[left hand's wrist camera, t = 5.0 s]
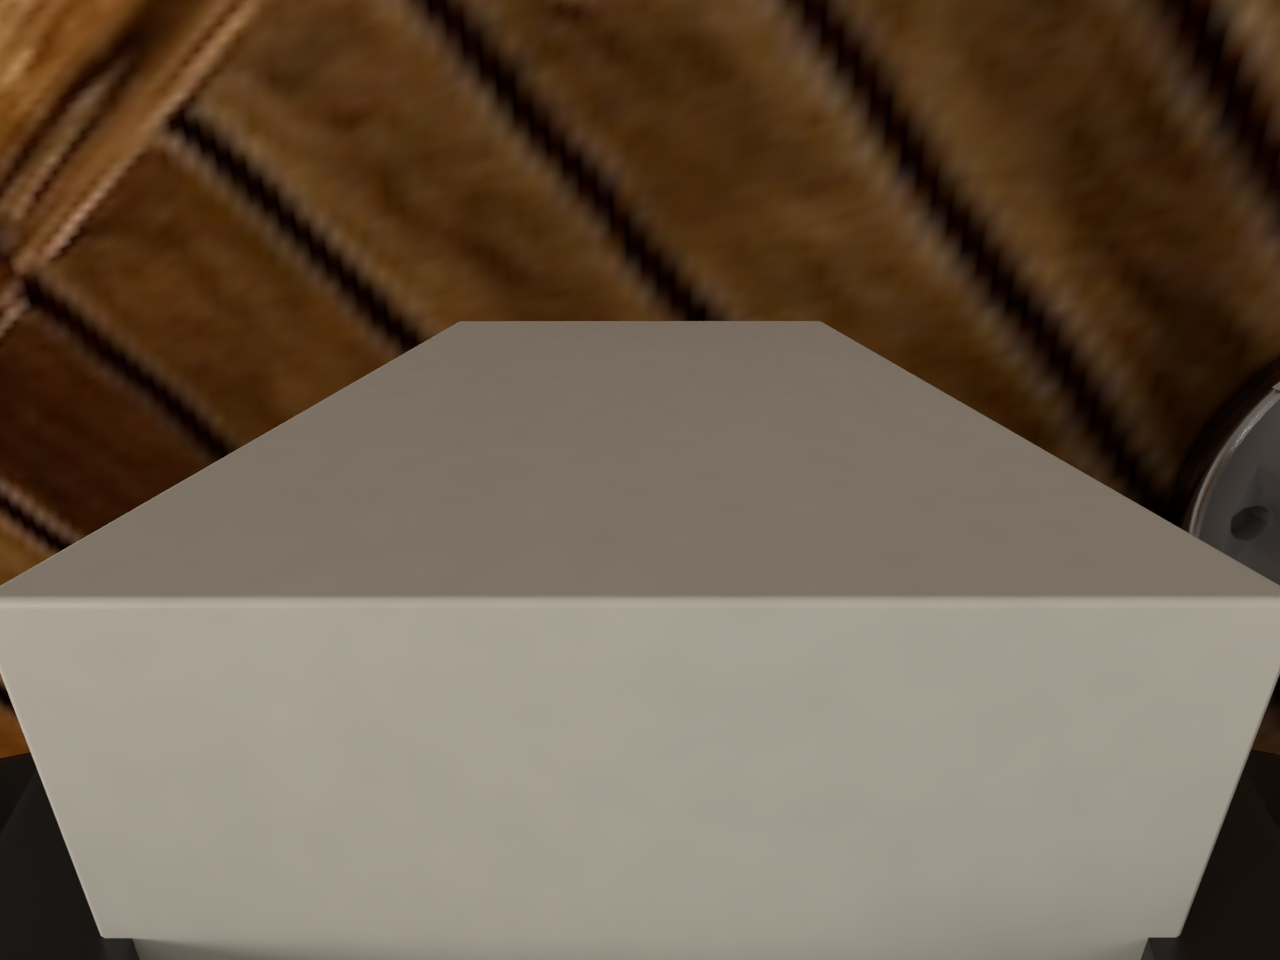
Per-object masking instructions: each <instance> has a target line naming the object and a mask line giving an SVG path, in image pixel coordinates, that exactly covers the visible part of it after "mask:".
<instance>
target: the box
mask: <svg viewBox="0 0 1280 960" xmlns="http://www.w3.org/2000/svg"><path fill="white" fill-rule="evenodd" d="M0 673H1V676H2V678H3V681H4V683H5V686H6V689H7V691H8V694H9V697H10V699H11V702H12V704H13V707H14V710H15V712H16V715H17V717H18V720H19V723H20V725H21V728H22V731H23V733H24V736H25V738H26V741H27V744H28V746H29V749H30V752H31V754H32V757H33V759H34V762H35V765H36V767H37V770H38V773H39V775H40V778H41V780H42V783H43V786H44V788H45V791H46V793H47V796H48V799H49V801H50V804H51V807H52V809H53V812H54V814H55V817H56V820H57V822H58V825H59V828H60V830H61V833H62V835H63V838H64V841H65V843H66V846H67V849H68V851H69V854H70V856H71V859H72V862H73V864H74V867H75V870H76V872H77V875H78V877H79V880H80V883H81V885H82V888H83V890H84V893H85V896H86V898H87V901H88V904H89V906H90V909H91V911H92V914H93V917H94V919H95V922H96V925H97V927H98V930H99V932H100V935H101V936H102V937H104V938H132V940H133V942H134V945H135V948H136V951H137V954H138V956H139V959H140V960H1141V957H1142V954H1143V951H1144V949H1145V946H1146V943H1147V940H1148V937H1178V936H1179V935H1180V934H1181V932H1182V929H1183V927H1184V924H1185V921H1186V919H1187V916H1188V913H1189V911H1190V908H1191V906H1192V903H1193V900H1194V898H1195V895H1196V892H1197V890H1198V887H1199V885H1200V882H1201V879H1202V877H1203V874H1204V871H1205V869H1206V866H1207V864H1208V861H1209V858H1210V856H1211V853H1212V850H1213V848H1214V845H1215V843H1216V840H1217V837H1218V835H1219V832H1220V829H1221V827H1222V824H1223V822H1224V819H1225V816H1226V814H1227V811H1228V808H1229V806H1230V803H1231V801H1232V798H1233V795H1234V793H1235V790H1236V787H1237V785H1238V782H1239V779H1240V777H1241V774H1242V772H1243V769H1244V766H1245V764H1246V761H1247V758H1248V756H1249V753H1250V751H1251V748H1252V745H1253V743H1254V740H1255V737H1256V735H1257V732H1258V730H1259V727H1260V724H1261V722H1262V719H1263V716H1264V714H1265V711H1266V709H1267V706H1268V703H1269V701H1270V698H1271V695H1272V693H1273V690H1274V688H1275V685H1276V682H1277V680H1278V677H1279V674H1280V585H1278V584H1276V583H1275V582H1273V581H1271V580H1269V579H1268V578H1266V577H1264V576H1262V575H1261V574H1259V573H1257V572H1255V571H1254V570H1252V569H1250V568H1248V567H1247V566H1245V565H1243V564H1242V563H1240V562H1238V561H1236V560H1235V559H1233V558H1231V557H1229V556H1228V555H1226V554H1224V553H1222V552H1221V551H1219V550H1217V549H1215V548H1214V547H1212V546H1210V545H1208V544H1207V543H1205V542H1203V541H1202V540H1200V539H1198V538H1196V537H1195V536H1193V535H1191V534H1189V533H1188V532H1186V531H1184V530H1182V529H1181V528H1179V527H1177V526H1175V525H1174V524H1172V523H1170V522H1168V521H1167V520H1165V519H1163V518H1162V517H1160V516H1158V515H1156V514H1155V513H1153V512H1151V511H1149V510H1148V509H1146V508H1144V507H1142V506H1141V505H1139V504H1137V503H1135V502H1134V501H1132V500H1130V499H1128V498H1127V497H1125V496H1123V495H1122V494H1120V493H1118V492H1116V491H1115V490H1113V489H1111V488H1109V487H1108V486H1106V485H1104V484H1102V483H1101V482H1099V481H1097V480H1095V479H1094V478H1092V477H1090V476H1088V475H1087V474H1085V473H1083V472H1082V471H1080V470H1078V469H1076V468H1075V467H1073V466H1071V465H1069V464H1068V463H1066V462H1064V461H1062V460H1061V459H1059V458H1057V457H1055V456H1054V455H1052V454H1050V453H1048V452H1047V451H1045V450H1043V449H1042V448H1040V447H1038V446H1036V445H1035V444H1033V443H1031V442H1029V441H1028V440H1026V439H1024V438H1022V437H1021V436H1019V435H1017V434H1015V433H1014V432H1012V431H1010V430H1008V429H1007V428H1005V427H1003V426H1002V425H1000V424H998V423H996V422H995V421H993V420H991V419H989V418H988V417H986V416H984V415H982V414H981V413H979V412H977V411H975V410H974V409H972V408H970V407H968V406H967V405H965V404H963V403H962V402H960V401H958V400H956V399H955V398H953V397H951V396H949V395H948V394H946V393H944V392H942V391H941V390H939V389H937V388H935V387H934V386H932V385H930V384H928V383H927V382H925V381H923V380H922V379H920V378H918V377H916V376H915V375H913V374H911V373H909V372H908V371H906V370H904V369H902V368H901V367H899V366H897V365H895V364H894V363H892V362H890V361H888V360H887V359H885V358H883V357H882V356H880V355H878V354H876V353H875V352H873V351H871V350H869V349H868V348H866V347H864V346H862V345H861V344H859V343H857V342H855V341H854V340H852V339H850V338H848V337H847V336H845V335H843V334H842V333H840V332H838V331H836V330H835V329H833V328H831V327H829V326H828V325H826V324H824V323H822V322H820V321H460V322H458V323H457V324H455V325H453V326H451V327H450V328H448V329H446V330H444V331H443V332H441V333H439V334H437V335H436V336H434V337H432V338H430V339H429V340H427V341H425V342H424V343H422V344H420V345H418V346H417V347H415V348H413V349H411V350H410V351H408V352H406V353H404V354H403V355H401V356H399V357H397V358H396V359H394V360H392V361H391V362H389V363H387V364H385V365H384V366H382V367H380V368H378V369H377V370H375V371H373V372H371V373H370V374H368V375H366V376H364V377H363V378H361V379H359V380H358V381H356V382H354V383H352V384H351V385H349V386H347V387H345V388H344V389H342V390H340V391H338V392H337V393H335V394H333V395H331V396H330V397H328V398H326V399H324V400H323V401H321V402H319V403H318V404H316V405H314V406H312V407H311V408H309V409H307V410H305V411H304V412H302V413H300V414H298V415H297V416H295V417H293V418H291V419H290V420H288V421H286V422H285V423H283V424H281V425H279V426H278V427H276V428H274V429H272V430H271V431H269V432H267V433H265V434H264V435H262V436H260V437H258V438H257V439H255V440H253V441H252V442H250V443H248V444H246V445H245V446H243V447H241V448H239V449H238V450H236V451H234V452H232V453H231V454H229V455H227V456H225V457H224V458H222V459H220V460H219V461H217V462H215V463H213V464H212V465H210V466H208V467H206V468H205V469H203V470H201V471H199V472H198V473H196V474H194V475H192V476H191V477H189V478H187V479H185V480H184V481H182V482H180V483H179V484H177V485H175V486H173V487H172V488H170V489H168V490H166V491H165V492H163V493H161V494H159V495H158V496H156V497H154V498H152V499H151V500H149V501H147V502H146V503H144V504H142V505H140V506H139V507H137V508H135V509H133V510H132V511H130V512H128V513H126V514H125V515H123V516H121V517H119V518H118V519H116V520H114V521H113V522H111V523H109V524H107V525H106V526H104V527H102V528H100V529H99V530H97V531H95V532H93V533H92V534H90V535H88V536H86V537H85V538H83V539H81V540H80V541H78V542H76V543H74V544H73V545H71V546H69V547H67V548H66V549H64V550H62V551H60V552H59V553H57V554H55V555H53V556H52V557H50V558H48V559H47V560H45V561H43V562H41V563H40V564H38V565H36V566H34V567H33V568H31V569H29V570H27V571H26V572H24V573H22V574H20V575H19V576H17V577H15V578H13V579H12V580H10V581H8V582H7V583H5V584H3V585H1V586H0Z"/></svg>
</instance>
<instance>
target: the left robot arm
mask: <svg viewBox="0 0 1280 960" xmlns="http://www.w3.org/2000/svg"><path fill="white" fill-rule="evenodd" d="M1168 522H1170V523H1172V524H1174V525H1175V526H1177V527H1179V528H1181V529H1182V530H1184V531H1186V532H1188V533H1189V534H1191V535H1193V536H1195V537H1196V538H1198V539H1200V540H1202V541H1203V542H1205V543H1207V544H1208V545H1210V546H1212V547H1214V548H1215V549H1217V550H1219V551H1221V552H1222V553H1224V554H1226V555H1228V556H1229V557H1231V558H1233V559H1235V560H1236V561H1238V562H1240V563H1242V564H1243V565H1245V566H1247V567H1248V568H1250V569H1252V570H1254V571H1255V572H1257V573H1259V574H1261V575H1262V576H1264V577H1266V578H1268V579H1269V580H1271V581H1273V582H1275V583H1276V584H1278V585H1280V357H1279V358H1278V359H1276V360H1275V361H1273V362H1272V363H1271V364H1270V365H1268V366H1267V367H1266V368H1265V369H1264V370H1262V371H1261V372H1260V373H1259V374H1257V375H1256V376H1255V377H1254V378H1253V379H1252V380H1251V381H1250V382H1249V383H1248V384H1246V385H1245V386H1244V387H1243V388H1242V389H1241V390H1240V391H1239V392H1238V393H1237V394H1236V395H1235V396H1234V397H1233V398H1232V400H1231V401H1230V402H1229V403H1228V404H1227V405H1226V406H1225V407H1224V408H1223V409H1222V411H1221V412H1220V413H1219V414H1218V416H1217V417H1216V418H1215V420H1214V421H1213V422H1212V423H1211V425H1210V426H1209V427H1208V429H1207V430H1206V432H1205V433H1204V435H1203V436H1202V438H1201V439H1200V441H1199V442H1198V444H1197V446H1196V447H1195V449H1194V451H1193V453H1192V455H1191V456H1190V458H1189V460H1188V462H1187V464H1186V466H1185V468H1184V471H1183V473H1182V475H1181V477H1180V480H1179V482H1178V485H1177V488H1176V491H1175V494H1174V497H1173V501H1172V505H1171V509H1170V514H1169V520H1168ZM1279 676H1280V674H1279ZM0 960H140V959H139V956H138V954H137V951H136V948H135V945H134V942H133V940H132V938H104V937H102V936H101V935H100V932H99V930H98V927H97V925H96V922H95V919H94V917H93V914H92V911H91V909H90V906H89V904H88V901H87V898H86V896H85V893H84V890H83V888H82V885H81V883H80V880H79V877H78V875H77V872H76V870H75V867H74V864H73V862H72V859H71V856H70V854H69V851H68V849H67V846H66V843H65V841H64V838H63V835H62V833H61V830H60V828H59V825H58V822H57V820H56V817H55V814H54V812H53V809H52V807H51V804H50V801H49V799H48V796H47V793H46V791H45V788H44V786H43V783H42V780H41V778H40V775H39V773H38V770H37V767H36V765H35V762H34V759H33V757H32V754H31V752H30V753H25V754H20V755H15V756H10V757H5V758H0ZM1141 960H1280V755H1277V754H1272V753H1267V752H1262V751H1257V750H1252V749H1251V751H1250V753H1249V756H1248V758H1247V761H1246V764H1245V766H1244V769H1243V772H1242V774H1241V777H1240V779H1239V782H1238V785H1237V787H1236V790H1235V793H1234V795H1233V798H1232V801H1231V803H1230V806H1229V808H1228V811H1227V814H1226V816H1225V819H1224V822H1223V824H1222V827H1221V829H1220V832H1219V835H1218V837H1217V840H1216V843H1215V845H1214V848H1213V850H1212V853H1211V856H1210V858H1209V861H1208V864H1207V866H1206V869H1205V871H1204V874H1203V877H1202V879H1201V882H1200V885H1199V887H1198V890H1197V892H1196V895H1195V898H1194V900H1193V903H1192V906H1191V908H1190V911H1189V913H1188V916H1187V919H1186V921H1185V924H1184V927H1183V929H1182V932H1181V934H1180V935H1179V936H1178V937H1148V940H1147V943H1146V946H1145V949H1144V951H1143V954H1142V957H1141Z"/></svg>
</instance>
